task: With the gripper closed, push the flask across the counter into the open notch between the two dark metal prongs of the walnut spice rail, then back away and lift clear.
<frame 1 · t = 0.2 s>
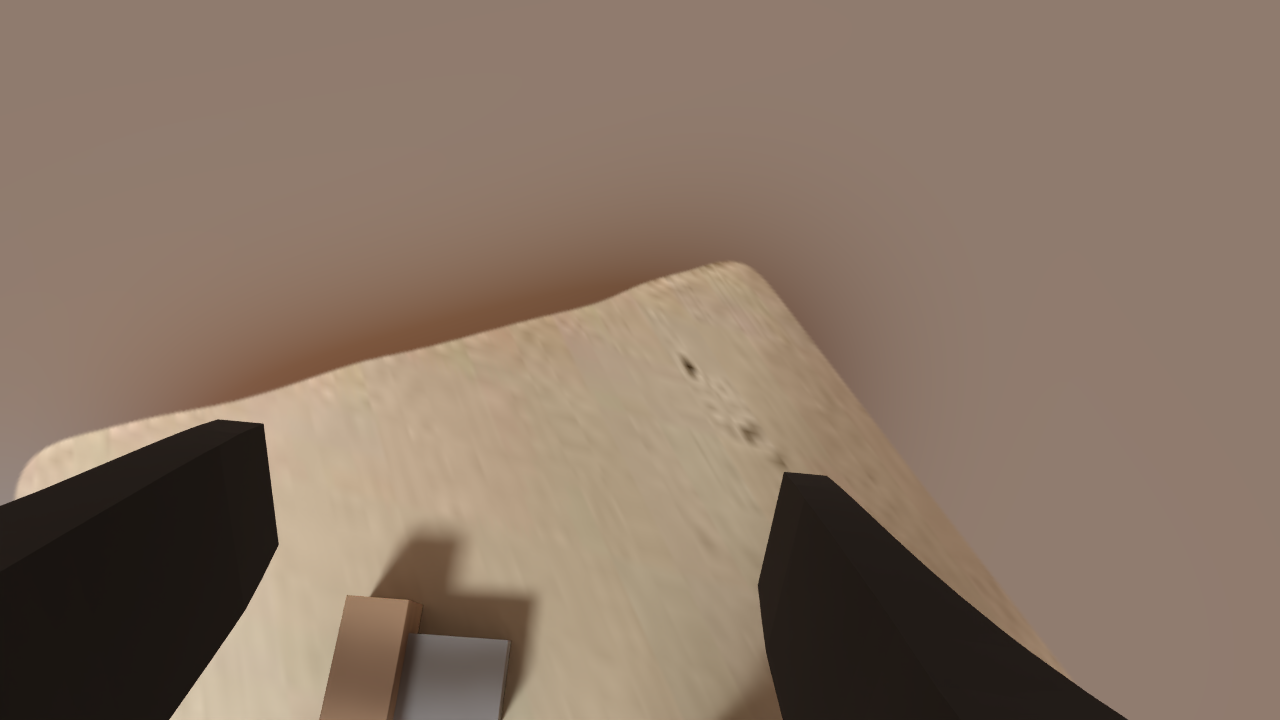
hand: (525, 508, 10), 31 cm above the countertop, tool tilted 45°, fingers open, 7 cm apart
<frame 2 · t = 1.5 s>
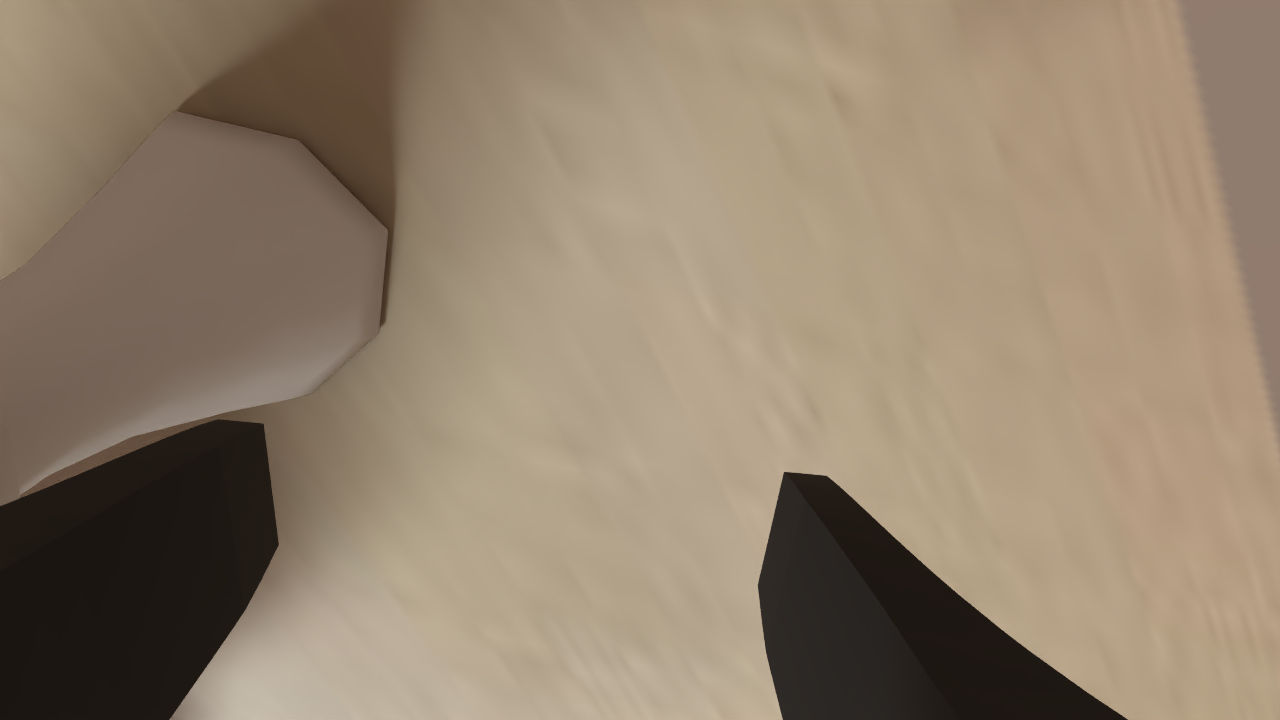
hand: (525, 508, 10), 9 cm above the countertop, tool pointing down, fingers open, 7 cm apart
flask: (257, 259, 18), on the countertop
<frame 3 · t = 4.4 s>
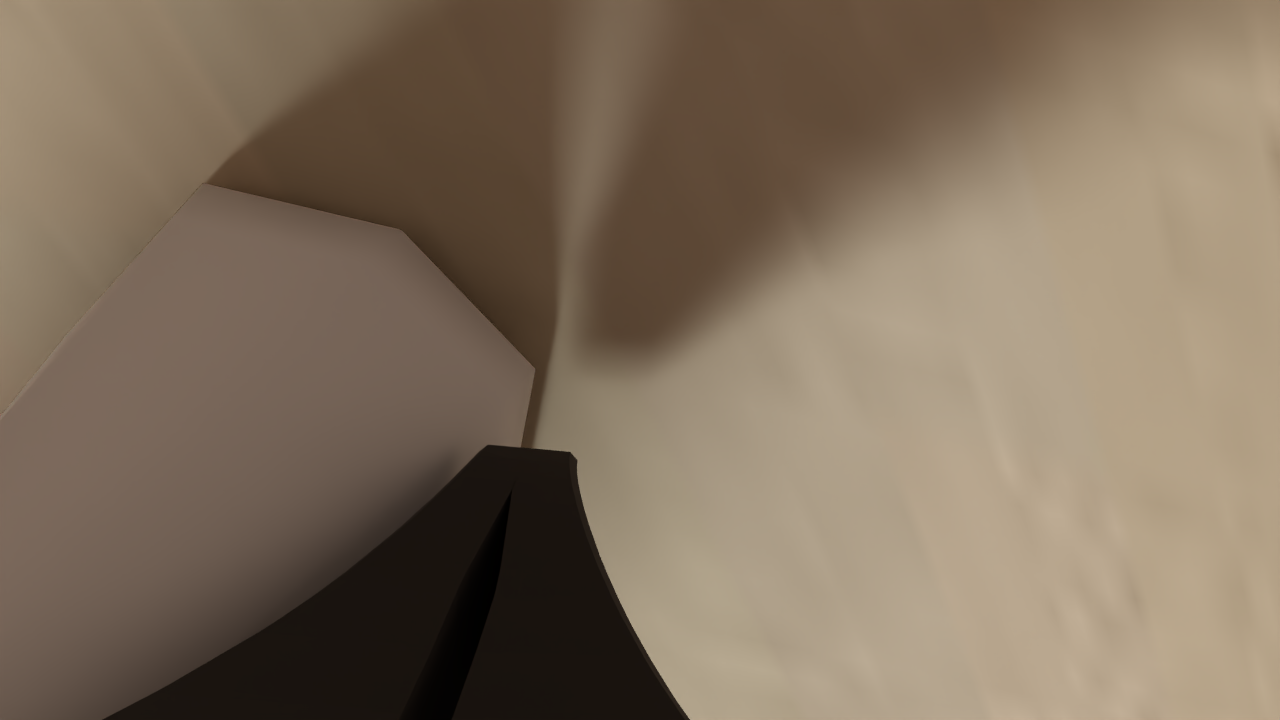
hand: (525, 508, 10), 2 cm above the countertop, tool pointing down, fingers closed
flask: (326, 401, 12), on the countertop, touching gripper
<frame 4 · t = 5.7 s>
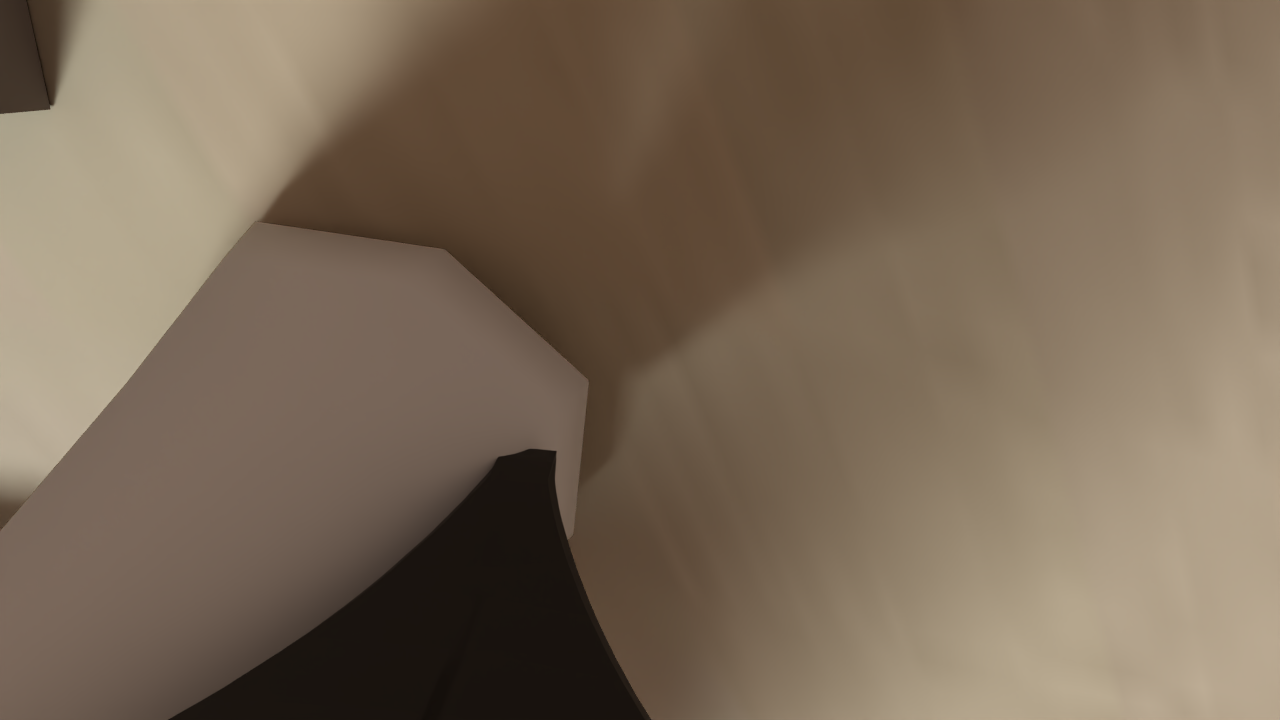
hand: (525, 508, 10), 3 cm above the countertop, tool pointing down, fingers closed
flask: (387, 429, 12), on the countertop, touching gripper
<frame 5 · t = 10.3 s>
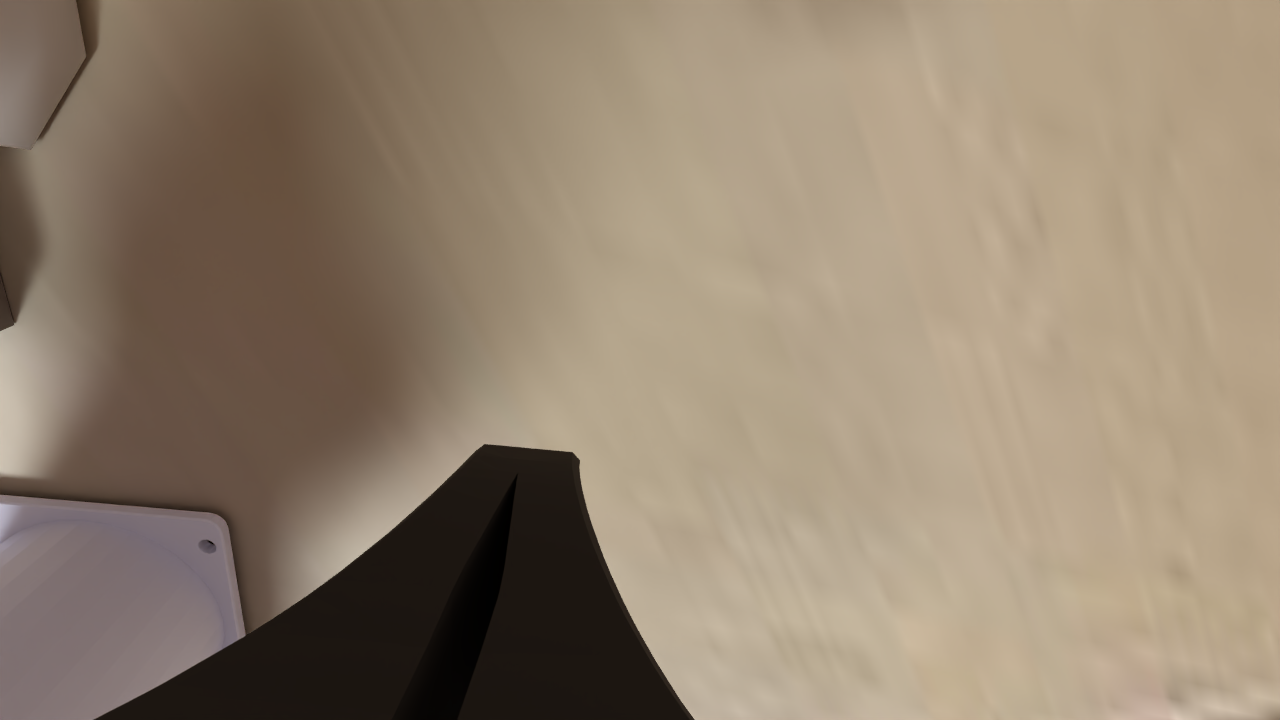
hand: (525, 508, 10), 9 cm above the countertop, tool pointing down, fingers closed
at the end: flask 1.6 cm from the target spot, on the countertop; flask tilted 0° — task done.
